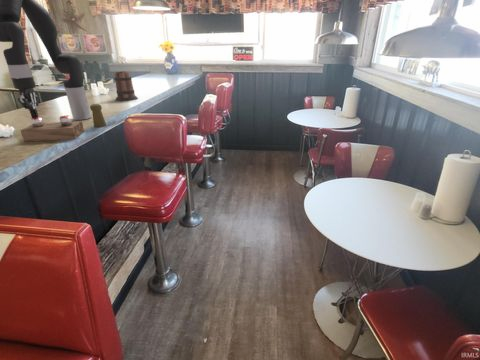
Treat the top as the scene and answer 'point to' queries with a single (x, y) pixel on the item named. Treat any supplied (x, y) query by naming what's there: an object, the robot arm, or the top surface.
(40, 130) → the console
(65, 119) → the knob
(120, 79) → the tankard
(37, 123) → the knob
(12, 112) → the top surface
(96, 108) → the cork
